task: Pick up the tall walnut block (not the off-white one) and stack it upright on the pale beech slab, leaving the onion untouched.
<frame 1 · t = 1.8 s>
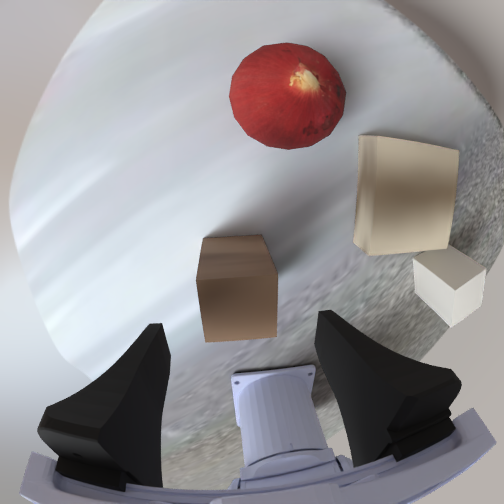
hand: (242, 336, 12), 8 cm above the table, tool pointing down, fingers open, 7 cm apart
beech slab: (397, 190, 19), on the table
offwhite block: (429, 267, 22), on the table
onion: (273, 105, 16), on the table
walnut block: (233, 262, 20), on the table
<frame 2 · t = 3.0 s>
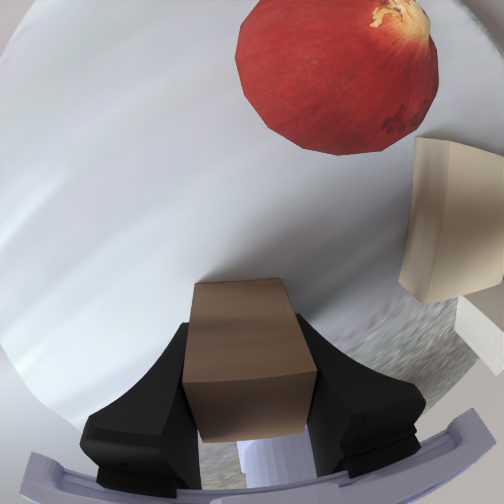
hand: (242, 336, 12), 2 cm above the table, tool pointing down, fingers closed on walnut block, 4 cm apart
beech slab: (452, 211, 13), on the table
offwhite block: (472, 300, 16), on the table
onion: (300, 85, 10), on the table
walnut block: (239, 315, 14), on the table, touching gripper
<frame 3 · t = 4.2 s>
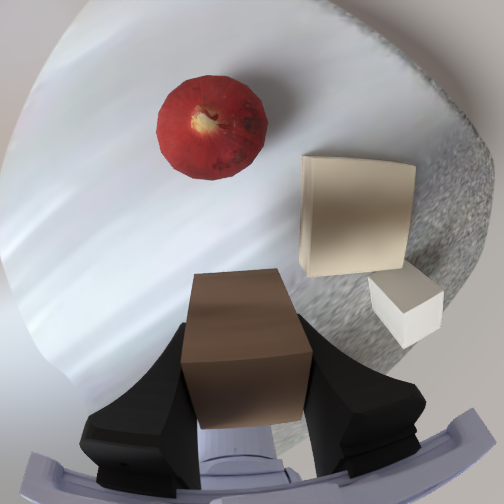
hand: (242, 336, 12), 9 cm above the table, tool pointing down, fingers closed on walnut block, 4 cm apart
beech slab: (348, 208, 20), on the table
offwhite block: (388, 284, 23), on the table
onion: (213, 130, 17), on the table
walnut block: (237, 306, 14), point 7 cm above the table, touching gripper
when the fingers open (6 cm above the table, at t = 5.8 s): walnut block stays where it is, resting on beech slab.
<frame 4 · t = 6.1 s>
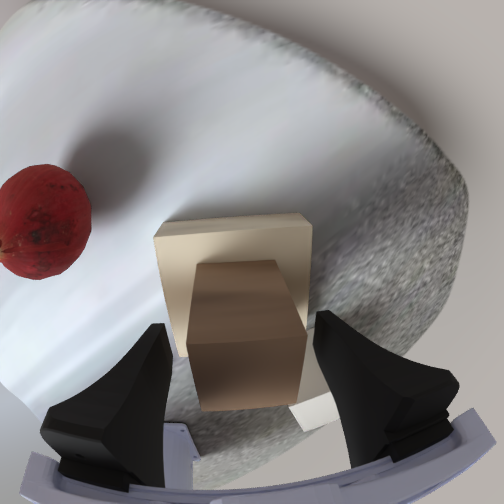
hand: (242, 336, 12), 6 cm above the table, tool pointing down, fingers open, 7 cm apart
beech slab: (235, 275, 18), on the table, touching walnut block
offwhite block: (304, 350, 21), on the table
onion: (73, 203, 14), on the table
walnut block: (237, 295, 15), point 3 cm above the table, touching beech slab
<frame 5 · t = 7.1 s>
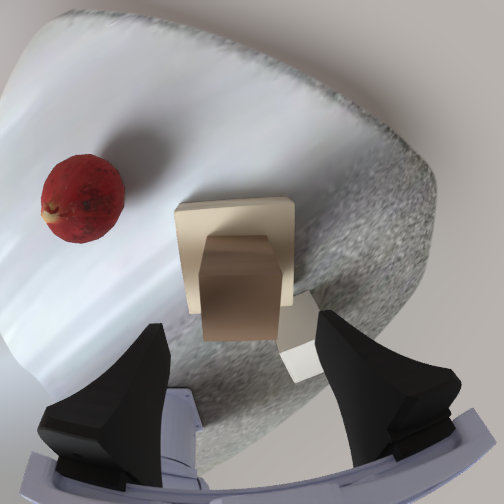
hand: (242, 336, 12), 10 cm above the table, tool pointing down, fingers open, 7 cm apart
beech slab: (235, 247, 22), on the table, touching walnut block
offwhite block: (294, 315, 25), on the table
onion: (104, 187, 19), on the table
walnut block: (236, 263, 19), point 3 cm above the table, touching beech slab
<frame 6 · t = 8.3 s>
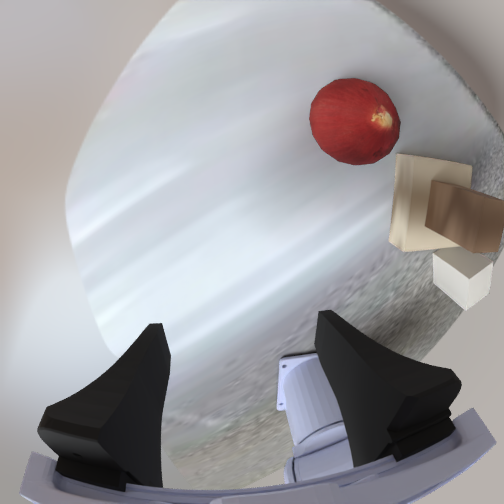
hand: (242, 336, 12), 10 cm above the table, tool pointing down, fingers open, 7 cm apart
beech slab: (422, 198, 22), on the table, touching walnut block
offwhite block: (445, 261, 25), on the table
onion: (332, 123, 19), on the table
walnut block: (443, 205, 19), point 3 cm above the table, touching beech slab
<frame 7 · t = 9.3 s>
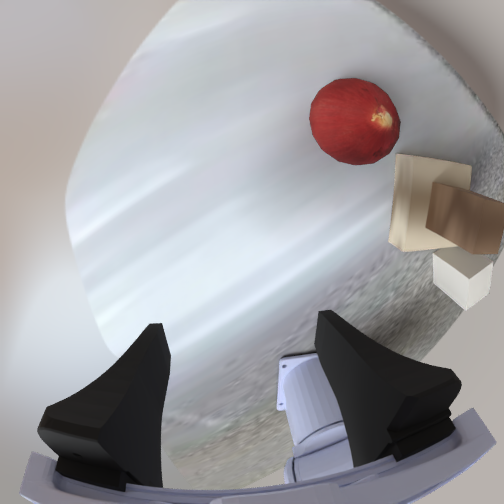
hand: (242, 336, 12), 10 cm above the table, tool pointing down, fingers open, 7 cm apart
beech slab: (422, 198, 22), on the table, touching walnut block
offwhite block: (445, 261, 25), on the table
onion: (332, 123, 19), on the table
walnut block: (443, 206, 20), point 2 cm above the table, touching beech slab
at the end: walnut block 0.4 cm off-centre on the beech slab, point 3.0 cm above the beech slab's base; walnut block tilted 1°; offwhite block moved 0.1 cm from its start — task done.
